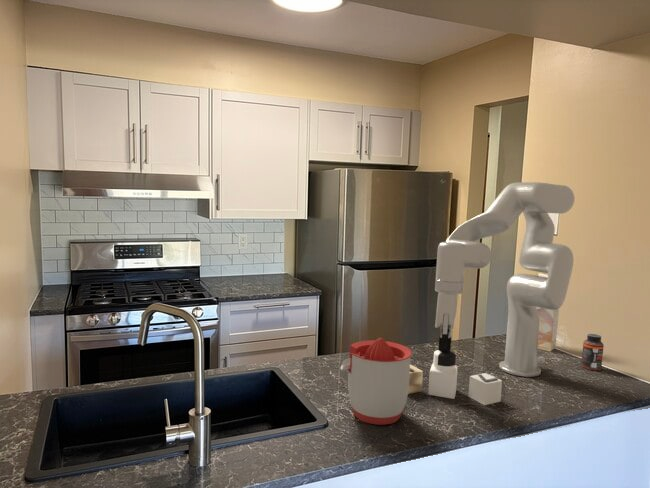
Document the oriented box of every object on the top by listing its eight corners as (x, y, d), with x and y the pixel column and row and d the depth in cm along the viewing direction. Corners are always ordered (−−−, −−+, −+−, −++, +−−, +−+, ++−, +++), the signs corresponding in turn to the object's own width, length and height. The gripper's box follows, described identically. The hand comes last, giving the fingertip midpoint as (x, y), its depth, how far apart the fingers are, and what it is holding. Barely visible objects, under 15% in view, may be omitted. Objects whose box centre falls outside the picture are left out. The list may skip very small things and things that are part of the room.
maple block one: (408, 383, 141) (409, 363, 140) (421, 391, 135) (423, 370, 135) (392, 386, 138) (393, 365, 137) (404, 394, 132) (405, 373, 132)
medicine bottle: (456, 389, 137) (458, 349, 136) (454, 399, 130) (457, 357, 129) (431, 385, 139) (433, 346, 138) (428, 395, 133) (430, 353, 131)
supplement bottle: (599, 372, 155) (602, 339, 154) (579, 368, 159) (582, 335, 158) (603, 368, 160) (606, 335, 159) (583, 363, 164) (586, 331, 162)
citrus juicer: (338, 400, 127) (341, 327, 125) (403, 403, 127) (407, 330, 125) (338, 428, 112) (341, 346, 110) (412, 432, 111) (417, 349, 109)
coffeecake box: (509, 342, 185) (513, 293, 183) (515, 339, 190) (519, 291, 188) (550, 352, 175) (555, 300, 173) (556, 347, 180) (560, 297, 178)
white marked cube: (484, 393, 136) (485, 372, 135) (500, 401, 130) (502, 379, 130) (468, 396, 133) (469, 375, 132) (484, 405, 127) (486, 382, 127)
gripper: (437, 281, 140) (433, 341, 142) (432, 289, 126) (428, 356, 128) (463, 283, 138) (459, 345, 139) (462, 292, 124) (457, 361, 125)
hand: (444, 350), depth 133 cm, fingers closed
